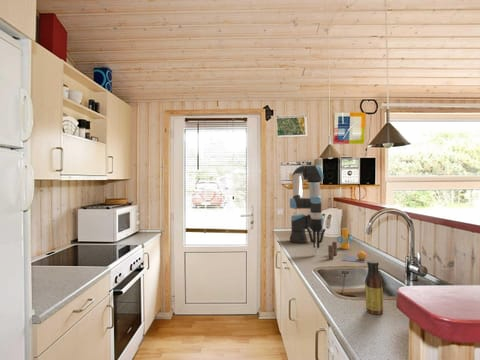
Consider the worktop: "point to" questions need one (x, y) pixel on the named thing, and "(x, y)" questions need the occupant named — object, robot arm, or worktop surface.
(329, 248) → the post
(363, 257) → the ball
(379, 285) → the sauce bottle
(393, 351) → the worktop surface
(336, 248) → the post
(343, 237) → the orange blue column
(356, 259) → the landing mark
